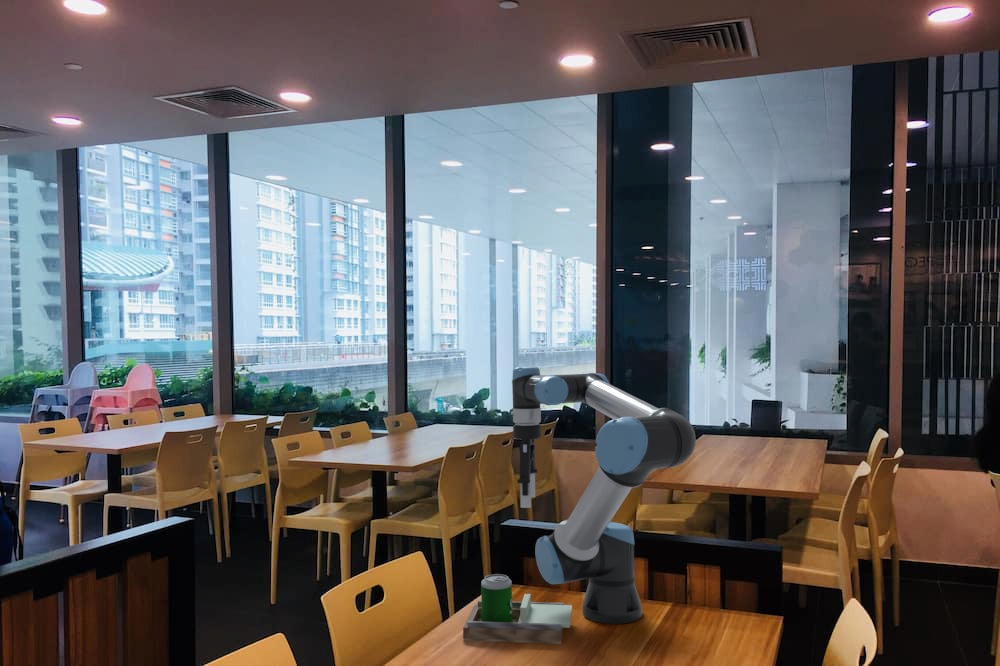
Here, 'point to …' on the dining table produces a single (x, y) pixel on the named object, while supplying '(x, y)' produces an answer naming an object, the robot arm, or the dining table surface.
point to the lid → (545, 613)
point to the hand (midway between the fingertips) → (528, 502)
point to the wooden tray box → (511, 628)
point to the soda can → (496, 598)
